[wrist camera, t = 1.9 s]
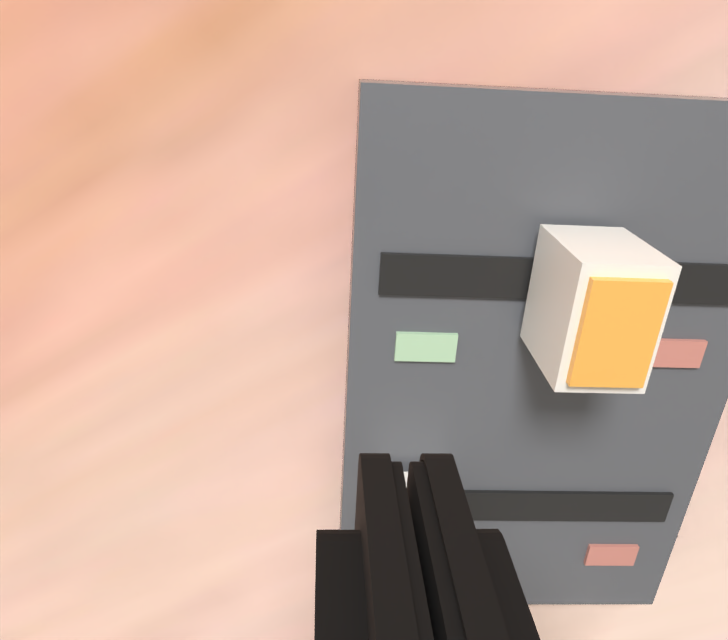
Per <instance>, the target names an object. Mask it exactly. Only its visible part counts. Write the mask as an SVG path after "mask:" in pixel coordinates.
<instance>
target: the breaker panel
mask: <svg viewBox="0 0 728 640" xmlns="http://www.w3.org/2000/svg"><path fill="white" fill-rule="evenodd" d="M540 224H551V225H578V226H604V227H624V228H625V229H627V230H628V231H630V232H631V233H633V234H634V235H636V236H637V237H639V238H640V239H642V240H643V241H645V242H646V243H648V244H649V245H651V246H652V247H654V248H655V249H657V250H658V251H660V252H661V253H663V254H664V255H665V256H667V257H668V258H670V259H671V260H673V261H674V262H676V263H677V264H679V265H680V266H682V269H681V272H680V276H679V279H678V283H677V286H676V289H675V293H674V296H673V300H672V303H671V306H670V310H669V313H668V317H667V320H666V323H665V327H664V330H663V333H662V337H661V340H660V344H659V347H658V350H657V354H656V357H655V361H654V364H653V367H652V371H651V374H650V378H649V381H648V384H647V388H646V391H645V394H621V393H573V392H554V391H553V389H552V388H551V386H550V384H549V383H548V381H547V379H546V378H545V376H544V374H543V373H542V371H541V369H540V368H539V366H538V365H537V363H536V361H535V360H534V358H533V356H532V355H531V353H530V351H529V350H528V348H527V346H526V345H525V343H524V342H523V340H522V338H521V337H520V333H521V327H522V322H523V316H524V311H525V305H526V300H527V294H528V289H529V283H530V278H531V272H532V267H533V261H534V256H535V250H536V245H537V239H538V234H539V228H540ZM727 399H728V98H717V97H698V96H678V95H659V94H639V93H619V92H600V91H580V90H561V89H541V88H522V87H502V86H482V85H463V84H443V83H424V82H404V81H384V80H365V79H359V93H358V117H357V140H356V163H355V186H354V209H353V232H352V255H351V279H350V302H349V325H348V348H347V371H346V394H345V417H344V441H343V464H342V487H341V510H340V530H354V529H355V512H356V494H357V477H358V460H359V454H360V453H389V454H390V457H391V461H401V462H402V466H403V471H404V472H408V468H409V463H410V462H411V461H419V460H420V456H421V454H422V453H451V454H452V455H453V456H454V459H455V462H456V465H457V469H458V472H459V475H460V479H461V482H462V485H463V488H464V492H465V495H466V498H467V501H468V505H469V508H470V511H471V514H472V518H473V521H474V524H475V528H476V529H499V531H500V532H501V533H502V535H503V537H504V539H505V542H506V545H507V548H508V551H509V553H510V556H511V559H512V562H513V565H514V567H515V570H516V573H517V576H518V579H519V581H520V584H521V587H522V590H523V593H524V595H525V598H526V601H527V604H652V603H653V601H654V598H655V595H656V593H657V590H658V587H659V584H660V582H661V579H662V576H663V573H664V571H665V568H666V565H667V562H668V560H669V557H670V554H671V552H672V549H673V546H674V543H675V541H676V538H677V535H678V532H679V530H680V527H681V524H682V521H683V519H684V516H685V513H686V511H687V508H688V505H689V502H690V500H691V497H692V494H693V491H694V489H695V486H696V483H697V481H698V478H699V475H700V472H701V470H702V467H703V464H704V461H705V459H706V456H707V453H708V450H709V448H710V445H711V442H712V440H713V437H714V434H715V431H716V429H717V426H718V423H719V420H720V418H721V415H722V412H723V409H724V407H725V404H726V401H727Z"/></svg>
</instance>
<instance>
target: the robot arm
mask: <svg viewBox="0 0 728 640" xmlns="http://www.w3.org/2000/svg"><path fill="white" fill-rule="evenodd" d="M315 640H540V638H539V635H538V632H537V629H536V626H535V624H534V621H533V618H532V615H531V612H530V610H529V607H528V604H527V601H526V598H525V595H524V593H523V590H522V587H521V584H520V581H519V579H518V576H517V573H516V570H515V567H514V565H513V562H512V559H511V556H510V553H509V551H508V548H507V545H506V542H505V539H504V537H503V535H502V533H501V532H500V531H499V529H476V528H475V524H474V521H473V518H472V514H471V511H470V508H469V505H468V501H467V498H466V495H465V492H464V488H463V485H462V482H461V479H460V475H459V472H458V469H457V465H456V462H455V459H454V456H453V455H452V454H451V453H422V454H421V456H420V460H419V461H411V462H410V463H409V468H408V478H407V488H406V482H405V477H404V471H403V466H402V462H401V461H391V457H390V454H389V453H360V454H359V460H358V477H357V494H356V512H355V529H354V530H317V534H316V582H315Z"/></svg>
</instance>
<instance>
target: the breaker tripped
mask: <svg viewBox="0 0 728 640" xmlns="http://www.w3.org/2000/svg"><path fill="white" fill-rule="evenodd" d="M681 269H682V266H680V265H679V264H677V263H676V262H674V261H673V260H671V259H670V258H668V257H667V256H665V255H664V254H663V253H661V252H660V251H658V250H657V249H655V248H654V247H652V246H651V245H649V244H648V243H646V242H645V241H643V240H642V239H640V238H639V237H637V236H636V235H634V234H633V233H631V232H630V231H628V230H627V229H625V228H624V227H604V226H578V225H551V224H540V228H539V234H538V239H537V245H536V250H535V256H534V261H533V267H532V272H531V278H530V283H529V289H528V294H527V300H526V305H525V311H524V316H523V322H522V327H521V333H520V337H521V338H522V340H523V342H524V343H525V345H526V346H527V348H528V350H529V351H530V353H531V355H532V356H533V358H534V360H535V361H536V363H537V365H538V366H539V368H540V369H541V371H542V373H543V374H544V376H545V378H546V379H547V381H548V383H549V384H550V386H551V388H552V389H553V391H554V392H573V393H621V394H645V391H646V388H647V384H648V381H649V378H650V374H651V371H652V367H653V364H654V361H655V357H656V354H657V350H658V347H659V344H660V340H661V337H662V333H663V330H664V327H665V323H666V320H667V317H668V313H669V310H670V306H671V303H672V300H673V296H674V293H675V289H676V286H677V283H678V279H679V276H680V272H681Z"/></svg>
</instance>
